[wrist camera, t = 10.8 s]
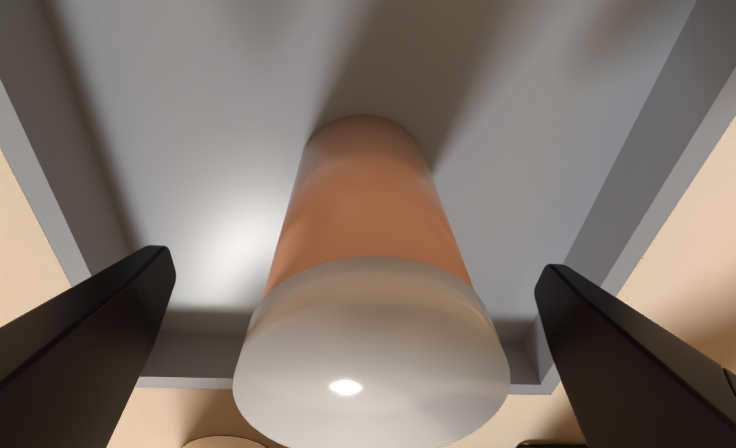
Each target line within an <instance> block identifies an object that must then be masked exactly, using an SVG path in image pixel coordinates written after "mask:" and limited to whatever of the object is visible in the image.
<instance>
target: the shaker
mask: <svg viewBox="0 0 736 448" xmlns="http://www.w3.org/2000/svg"><path fill="white" fill-rule="evenodd" d="M510 382H511V379H510V368H509V365H508V361H507V359H506V356H505V353H504V351H503V348H502V346H501V343H500V341H499V338H498V335H497V333H496V330H495V328H494V325H493V323H492V320H491V317H490V315H489V312H488V310H487V308H486V306H485V304H484V303H483V301H482V300H481V298H480V297H479V296H478V295H477V293H476V292H475V291H474V288H473V286H472V283H471V280H470V278H469V275H468V272H467V269H466V267H465V264H464V261H463V259H462V256H461V253H460V251H459V248H458V245H457V242H456V240H455V237H454V234H453V232H452V229H451V226H450V224H449V221H448V218H447V215H446V213H445V210H444V207H443V205H442V202H441V199H440V197H439V194H438V191H437V188H436V186H435V183H434V180H433V178H432V175H431V172H430V170H429V167H428V164H427V161H426V159H425V156H424V153H423V151H422V149H421V147H420V145H419V143H418V142H417V140H416V139H415V137H414V136H413V135H412V134H411V133H410V132H409V131H408V130H407V129H405V128H404V127H403V126H401V125H400V124H398V123H396V122H395V121H392V120H390V119H388V118H385V117H381V116H377V115H370V114H357V115H350V116H346V117H342V118H339V119H337V120H334V121H332V122H330V123H329V124H327V125H325V126H324V127H323V128H321V129H320V130H319V131H318V132H317V133H316V134H315V135H314V136H313V137H312V138H311V139H310V141H309V142H308V143H307V145H306V147H305V149H304V151H303V154H302V157H301V160H300V164H299V167H298V171H297V174H296V178H295V182H294V185H293V189H292V192H291V196H290V200H289V203H288V207H287V210H286V214H285V218H284V221H283V225H282V228H281V232H280V236H279V239H278V243H277V246H276V250H275V254H274V257H273V261H272V265H271V268H270V272H269V275H268V279H267V283H266V286H265V290H264V293H263V297H262V301H261V302H260V303H259V305H258V306H257V308H256V309H255V311H254V313H253V315H252V317H251V320H250V323H249V326H248V329H247V333H246V336H245V339H244V343H243V346H242V350H241V353H240V356H239V360H238V363H237V367H236V370H235V373H234V378H233V385H232V387H233V397H234V399H235V402H236V405H237V407H238V409H239V411H240V412H241V414H242V416H243V417H244V418H245V419H246V420H247V421H248V423H249V424H250V425H252V426H253V427H254V428H255V429H256V430H257V431H259V432H260V433H262V434H263V435H265V436H266V437H268V438H269V439H271V440H273V441H275V442H277V443H279V444H281V445H284V446H286V447H289V448H441V447H444V446H446V445H449V444H451V443H453V442H456V441H458V440H460V439H462V438H464V437H466V436H467V435H469V434H471V433H473V432H474V431H476V430H477V429H479V428H480V427H481V426H483V425H484V424H485V423H486V422H487V421H489V420H490V419H491V418H492V417H493V416H494V415H495V413H496V412H497V411H498V410H499V409H500V407H501V406H502V404H503V403H504V401H505V399H506V396H507V394H508V392H509V387H510Z"/></svg>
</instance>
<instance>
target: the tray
mask: <svg viewBox="0 0 736 448" xmlns="http://www.w3.org/2000/svg"><path fill="white" fill-rule="evenodd" d="M357 114H370V115H377V116H381V117H385V118H388V119H390V120H392V121H395V122H396V123H398V124H400V125H401V126H403V127H404V128H405V129H407V130H408V131H409V132H410V133H411V134H412V135H413V136H414V137H415V139H416V140H417V142H418V143H419V145H420V147H421V149H422V151H423V153H424V156H425V159H426V161H427V164H428V167H429V170H430V172H431V175H432V178H433V180H434V183H435V186H436V188H437V191H438V194H439V197H440V199H441V202H442V205H443V207H444V210H445V213H446V215H447V218H448V221H449V224H450V226H451V229H452V232H453V234H454V237H455V240H456V242H457V245H458V248H459V251H460V253H461V256H462V259H463V261H464V264H465V267H466V269H467V272H468V275H469V278H470V280H471V283H472V286H473V288H474V291H475V292H476V293H477V295H478V296H479V297H480V298H481V300H482V301H483V303H484V304H485V306H486V308H487V310H488V312H489V315H490V317H491V320H492V323H493V325H494V328H495V330H496V333H497V335H498V338H499V341H500V343H501V346H502V348H503V351H504V353H505V356H506V359H507V361H508V365H509V368H510V379H511V382H510V387H509V392H508V394H520V395H551V394H552V392H553V391H554V389H555V388H556V386H557V385H558V383H559V382H560V380H561V379H560V376H559V374H558V371H557V369H556V366H555V364H554V361H553V358H552V356H551V353H550V350H549V347H548V344H547V340H546V337H545V333H544V330H543V326H542V323H541V319H540V315H539V312H538V308H537V305H536V301H535V297H534V288H535V285H536V283H537V281H538V279H539V277H540V275H541V273H542V271H543V269H544V267H545V266H546V265H547V264H564V265H566V266H568V267H570V268H571V269H573V270H574V271H576V272H577V273H579V274H580V275H582V276H584V277H585V278H587V279H588V280H590V281H591V282H593V283H594V284H596V285H597V286H599V287H600V288H602V289H604V290H605V291H607V292H608V293H610V294H611V295H613V296H614V297H616V296H617V294H618V293H619V291H620V290H621V288H622V287H623V285H624V284H625V282H626V281H627V279H628V278H629V276H630V275H631V273H632V271H633V270H634V268H635V267H636V265H637V264H638V262H639V261H640V259H641V258H642V256H643V255H644V253H645V252H646V250H647V249H648V247H649V246H650V244H651V243H652V241H653V240H654V238H655V237H656V235H657V234H658V232H659V231H660V229H661V228H662V226H663V225H664V223H665V222H666V220H667V219H668V217H669V216H670V214H671V213H672V211H673V209H674V208H675V206H676V205H677V203H678V202H679V200H680V199H681V197H682V196H683V194H684V193H685V191H686V190H687V188H688V187H689V185H690V184H691V182H692V181H693V179H694V178H695V176H696V175H697V173H698V172H699V170H700V169H701V167H702V166H703V164H704V163H705V161H706V160H707V158H708V157H709V155H710V154H711V152H712V150H713V149H714V147H715V146H716V144H717V143H718V141H719V140H720V138H721V137H722V135H723V134H724V132H725V131H726V129H727V128H728V126H729V125H730V123H731V122H732V120H733V119H734V117H735V116H736V0H0V149H1V151H2V152H3V154H4V156H5V158H6V160H7V162H8V164H9V166H10V168H11V170H12V172H13V174H14V176H15V178H16V180H17V182H18V184H19V186H20V187H21V189H22V191H23V193H24V195H25V197H26V199H27V201H28V203H29V205H30V207H31V209H32V211H33V213H34V215H35V217H36V219H37V220H38V222H39V224H40V226H41V228H42V230H43V232H44V234H45V236H46V238H47V240H48V242H49V244H50V246H51V248H52V250H53V252H54V253H55V255H56V257H57V259H58V261H59V263H60V265H61V267H62V269H63V271H64V273H65V275H66V277H67V279H68V281H69V283H70V285H71V287H73V286H75V285H77V284H79V283H81V282H82V281H84V280H86V279H88V278H89V277H91V276H93V275H95V274H97V273H98V272H100V271H102V270H104V269H105V268H107V267H109V266H111V265H113V264H114V263H116V262H118V261H120V260H122V259H123V258H125V257H127V256H129V255H130V254H132V253H134V252H136V251H138V250H139V249H141V248H143V247H145V246H147V245H164V246H167V247H168V248H169V250H170V253H171V256H172V260H173V263H174V267H175V270H176V282H175V285H174V288H173V291H172V294H171V297H170V300H169V303H168V306H167V309H166V312H165V315H164V318H163V321H162V324H161V327H160V330H159V333H158V336H157V339H156V341H155V344H154V346H153V348H152V351H151V353H150V355H149V357H148V359H147V361H146V363H145V366H144V368H143V370H142V372H141V374H140V376H139V378H138V381H137V383H136V385H135V387H142V388H196V389H233V387H232V385H233V378H234V373H235V370H236V367H237V363H238V360H239V356H240V353H241V350H242V346H243V343H244V339H245V336H246V333H247V329H248V326H249V323H250V320H251V317H252V315H253V313H254V311H255V309H256V308H257V306H258V305H259V303H260V302H261V301H262V297H263V293H264V290H265V286H266V283H267V279H268V275H269V272H270V268H271V265H272V261H273V257H274V254H275V250H276V246H277V243H278V239H279V236H280V232H281V228H282V225H283V221H284V218H285V214H286V210H287V207H288V203H289V200H290V196H291V192H292V189H293V185H294V182H295V178H296V174H297V171H298V167H299V164H300V160H301V157H302V154H303V151H304V149H305V147H306V145H307V143H308V142H309V141H310V139H311V138H312V137H313V136H314V135H315V134H316V133H317V132H318V131H319V130H320V129H321V128H323V127H324V126H325V125H327V124H329V123H330V122H332V121H334V120H337V119H339V118H342V117H346V116H350V115H357Z"/></svg>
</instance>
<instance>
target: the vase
mask: <svg viewBox="0 0 736 448" xmlns="http://www.w3.org/2000/svg"><path fill="white" fill-rule="evenodd" d="M182 448H266V447H265V446H263V445H262V444H260V443H257V442H254V441H252V440H249V439H244V438H239V437H233V436H212V437H205V438H200V439H197V440H194V441H191V442H189V443H188V444H186V445H185V446H183V447H182Z"/></svg>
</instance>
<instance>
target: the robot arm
mask: <svg viewBox="0 0 736 448" xmlns="http://www.w3.org/2000/svg"><path fill="white" fill-rule="evenodd" d="M175 282H176V270H175V267H174V263H173V260H172V256H171V253H170V250H169V248H168V247H167V246H164V245H147V246H145V247H143V248H141V249H139V250H138V251H136V252H134V253H132V254H130V255H129V256H127V257H125V258H123V259H122V260H120V261H118V262H116V263H114V264H113V265H111V266H109V267H107V268H105V269H104V270H102V271H100V272H98V273H97V274H95V275H93V276H91V277H89V278H88V279H86V280H84V281H82V282H81V283H79V284H77V285H75V286H73V287H72V288H70V289H68V290H66V291H65V292H63V293H61V294H59V295H57V296H56V297H54V298H52V299H50V300H48V301H47V302H45V303H43V304H41V305H40V306H38V307H36V308H34V309H32V310H31V311H29V312H27V313H25V314H24V315H22V316H20V317H18V318H16V319H15V320H13V321H11V322H9V323H7V324H6V325H4V326H2V327H0V448H106V447H107V445H108V443H109V440H110V438H111V436H112V434H113V432H114V430H115V428H116V425H117V423H118V421H119V419H120V417H121V415H122V413H123V410H124V408H125V406H126V404H127V402H128V400H129V398H130V396H131V393H132V391H133V389H134V387H135V385H136V383H137V381H138V378H139V376H140V374H141V372H142V370H143V368H144V366H145V363H146V361H147V359H148V357H149V355H150V353H151V351H152V348H153V346H154V344H155V341H156V339H157V336H158V333H159V330H160V327H161V324H162V321H163V318H164V315H165V312H166V309H167V306H168V303H169V300H170V297H171V294H172V291H173V288H174V285H175ZM534 297H535V301H536V305H537V308H538V312H539V315H540V319H541V323H542V326H543V330H544V333H545V337H546V340H547V344H548V347H549V350H550V353H551V356H552V358H553V361H554V364H555V366H556V369H557V371H558V374H559V376H560V379H561V381H562V384H563V386H564V389H565V391H566V394H567V396H568V399H569V401H570V404H571V406H572V409H573V411H574V414H575V416H576V419H577V421H578V424H579V426H580V429H581V431H582V434H583V436H584V439H585V441H586V444H587V446H588V447H520V448H736V375H735V374H733V373H732V372H730V371H729V370H727V369H725V368H722V367H721V365H719V364H718V363H716V362H715V361H713V360H712V359H710V358H709V357H707V356H706V355H704V354H702V353H701V352H699V351H698V350H696V349H695V348H693V347H692V346H690V345H689V344H687V343H685V342H684V341H682V340H681V339H679V338H678V337H676V336H675V335H673V334H672V333H670V332H668V331H667V330H665V329H664V328H662V327H661V326H659V325H658V324H656V323H655V322H653V321H651V320H650V319H648V318H647V317H645V316H644V315H642V314H641V313H639V312H638V311H636V310H634V309H633V308H631V307H630V306H628V305H627V304H625V303H624V302H622V301H621V300H619V299H617V298H616V297H614V296H613V295H611V294H610V293H608V292H607V291H605V290H604V289H602V288H600V287H599V286H597V285H596V284H594V283H593V282H591V281H590V280H588V279H587V278H585V277H584V276H582V275H580V274H579V273H577V272H576V271H574V270H573V269H571V268H570V267H568V266H566V265H564V264H547V265H546V266H545V267H544V269H543V271H542V273H541V275H540V277H539V279H538V281H537V283H536V285H535V288H534Z"/></svg>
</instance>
